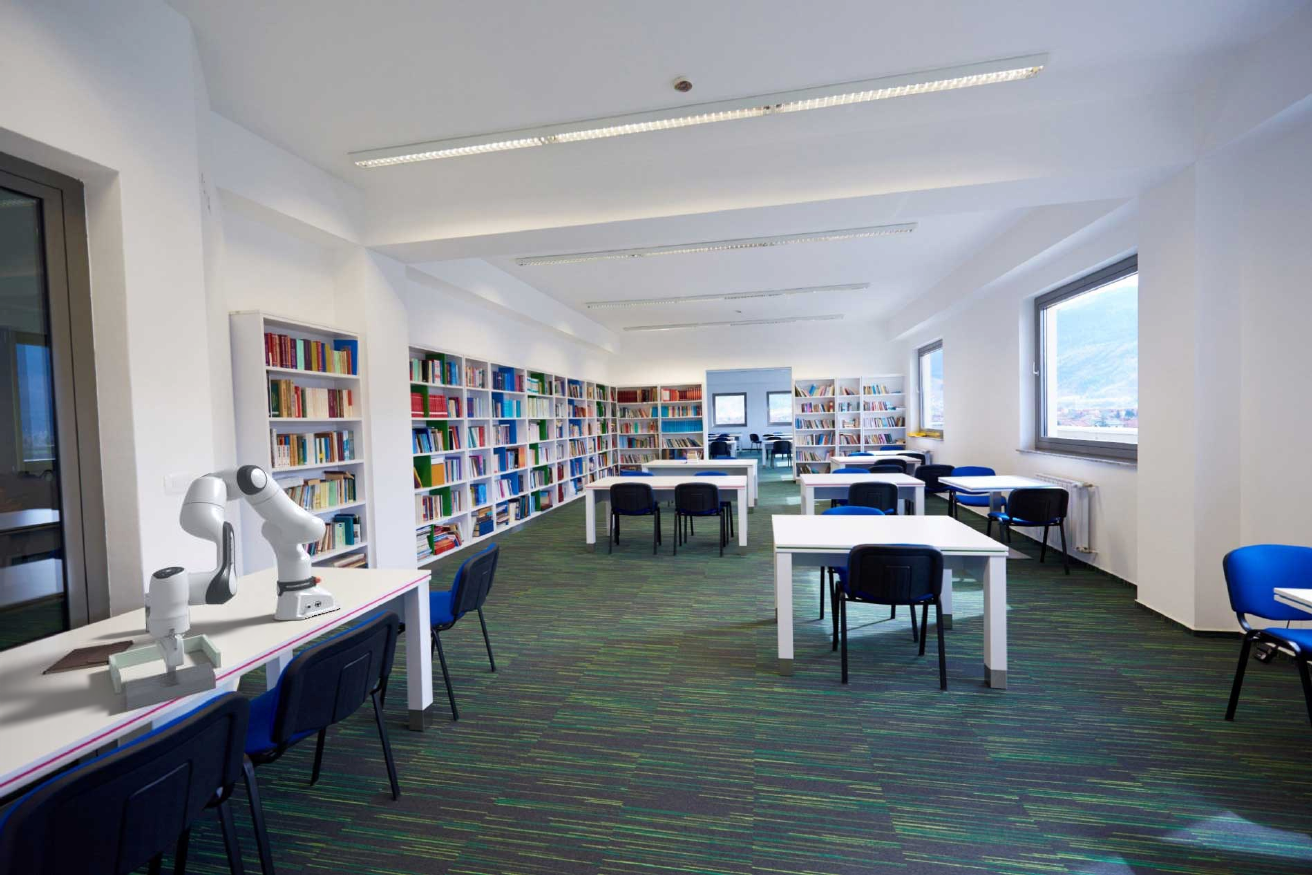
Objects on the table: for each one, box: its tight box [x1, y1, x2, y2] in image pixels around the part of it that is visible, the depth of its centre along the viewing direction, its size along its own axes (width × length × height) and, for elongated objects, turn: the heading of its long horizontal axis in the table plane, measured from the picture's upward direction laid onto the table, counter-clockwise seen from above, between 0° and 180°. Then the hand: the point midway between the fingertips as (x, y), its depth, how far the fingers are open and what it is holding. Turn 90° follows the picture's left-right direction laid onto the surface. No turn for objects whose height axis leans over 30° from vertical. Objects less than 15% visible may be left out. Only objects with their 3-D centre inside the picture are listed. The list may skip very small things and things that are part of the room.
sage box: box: [108, 633, 222, 695], centre depth 171 cm, size 23×24×4 cm
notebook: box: [42, 639, 134, 676], centre depth 180 cm, size 15×20×2 cm
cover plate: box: [125, 661, 217, 712], centre depth 155 cm, size 18×13×4 cm
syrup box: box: [144, 590, 151, 632], centre depth 207 cm, size 6×6×14 cm
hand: (171, 674), depth 161 cm, fingers closed
